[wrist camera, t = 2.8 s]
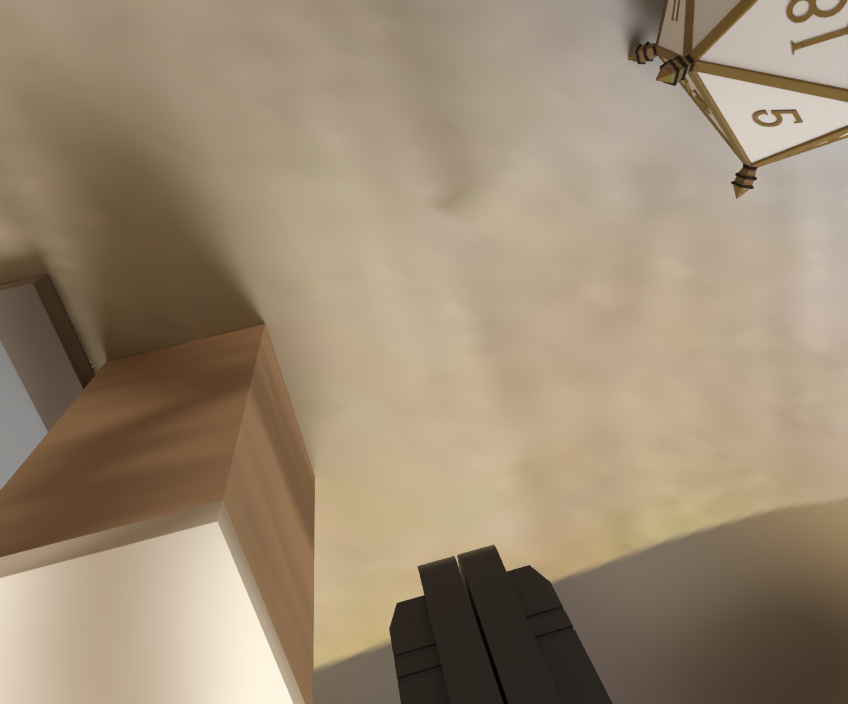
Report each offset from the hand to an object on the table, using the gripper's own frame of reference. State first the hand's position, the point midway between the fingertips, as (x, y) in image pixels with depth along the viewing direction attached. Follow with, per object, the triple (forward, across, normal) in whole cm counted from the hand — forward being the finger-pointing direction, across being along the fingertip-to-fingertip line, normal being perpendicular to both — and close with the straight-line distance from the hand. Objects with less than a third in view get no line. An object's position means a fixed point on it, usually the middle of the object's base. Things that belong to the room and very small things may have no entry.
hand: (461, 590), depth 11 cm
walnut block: (+10, +6, 0) cm, 12 cm away
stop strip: (+10, +10, 0) cm, 14 cm away
